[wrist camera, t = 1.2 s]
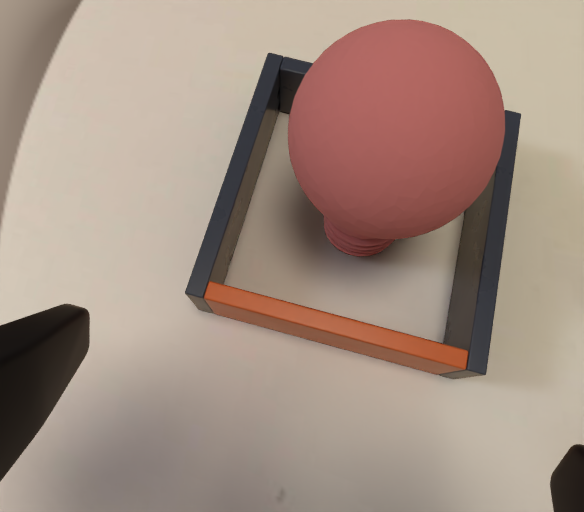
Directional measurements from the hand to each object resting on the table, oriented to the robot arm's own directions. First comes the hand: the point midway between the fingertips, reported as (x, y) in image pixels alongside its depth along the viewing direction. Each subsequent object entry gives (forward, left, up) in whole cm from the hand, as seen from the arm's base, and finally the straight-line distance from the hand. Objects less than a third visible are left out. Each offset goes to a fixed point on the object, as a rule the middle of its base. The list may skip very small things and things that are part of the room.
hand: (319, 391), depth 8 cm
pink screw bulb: (+8, -5, -14) cm, 16 cm away
